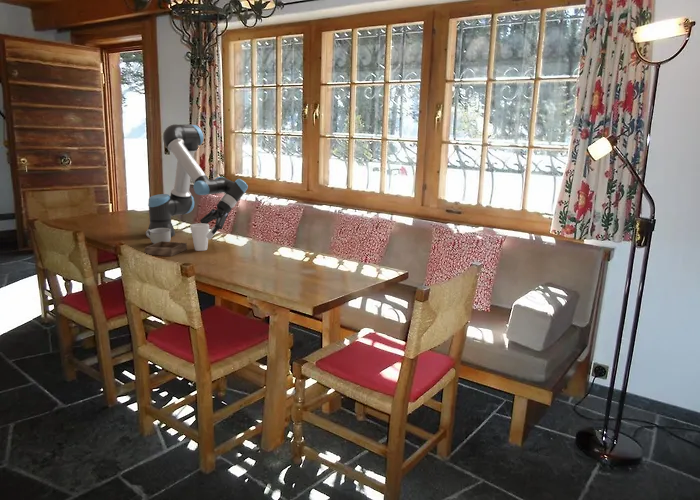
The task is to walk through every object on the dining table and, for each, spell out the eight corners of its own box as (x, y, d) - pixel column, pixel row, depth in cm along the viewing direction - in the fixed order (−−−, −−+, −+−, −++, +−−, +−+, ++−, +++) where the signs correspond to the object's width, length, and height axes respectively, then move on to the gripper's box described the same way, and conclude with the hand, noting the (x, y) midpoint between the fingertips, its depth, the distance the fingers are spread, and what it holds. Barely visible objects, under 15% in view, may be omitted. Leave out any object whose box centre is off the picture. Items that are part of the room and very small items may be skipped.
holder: (145, 254, 269) (144, 247, 268) (161, 247, 282) (161, 241, 282) (171, 256, 265) (170, 249, 265) (186, 249, 279) (186, 243, 278)
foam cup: (200, 252, 274) (199, 227, 271) (187, 249, 279) (186, 225, 276) (214, 248, 282) (213, 224, 279) (201, 246, 287) (200, 222, 284)
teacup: (175, 243, 293) (174, 229, 291) (161, 247, 284) (160, 232, 282) (156, 240, 299) (155, 226, 297) (141, 244, 289) (140, 229, 287)
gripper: (243, 211, 278) (218, 244, 272) (219, 206, 296) (195, 236, 290) (233, 202, 273) (208, 235, 267) (210, 197, 291) (185, 227, 285)
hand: (201, 236), depth 278 cm, fingers open, 13 cm apart
